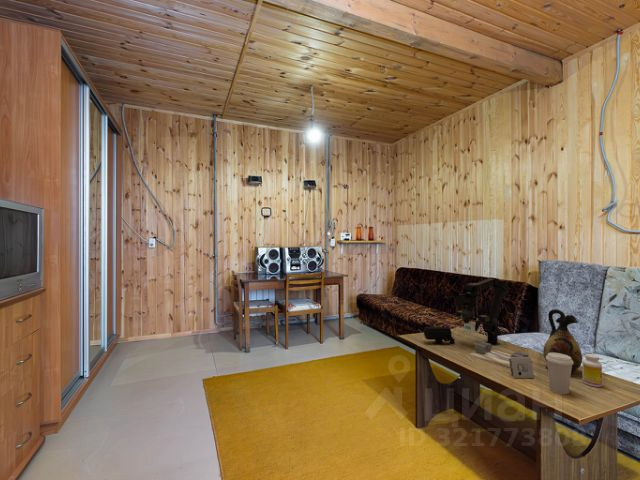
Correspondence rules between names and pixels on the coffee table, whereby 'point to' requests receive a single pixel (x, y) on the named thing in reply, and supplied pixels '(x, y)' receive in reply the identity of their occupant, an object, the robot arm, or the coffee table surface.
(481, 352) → the rail panel
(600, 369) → the supplement bottle
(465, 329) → the module block
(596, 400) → the coffee table surface
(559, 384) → the coffee cup
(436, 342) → the security camera
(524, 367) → the electrical switch
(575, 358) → the ceramic jug
